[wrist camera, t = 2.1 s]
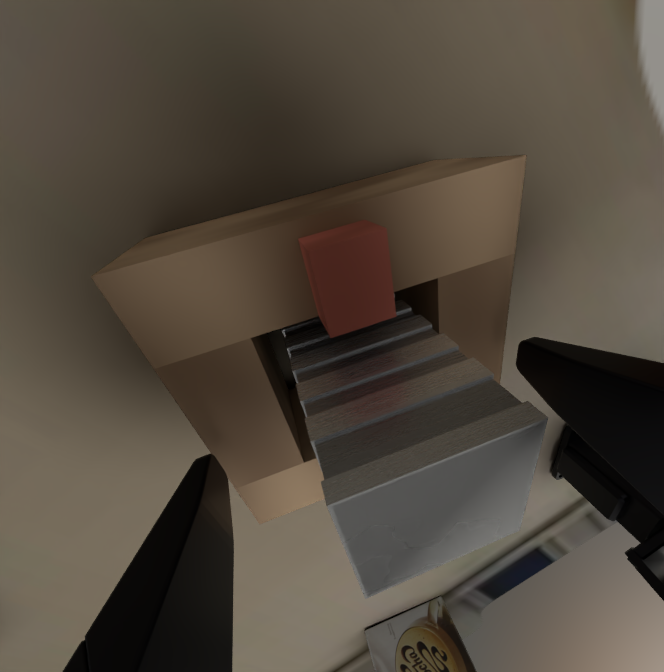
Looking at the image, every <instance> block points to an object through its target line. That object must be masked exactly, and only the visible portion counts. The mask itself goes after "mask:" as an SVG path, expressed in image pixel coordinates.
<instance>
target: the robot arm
mask: <svg viewBox="0 0 664 672" xmlns="http://www.w3.org/2000/svg"><path fill="white" fill-rule="evenodd" d="M516 366H517V369H518V370H519V372H520V373H521V374H522V375H523V376H524V378H525V379H526V380H527V381H528V382H529V383H530V384H531V386H532V387H533V388H534V389H535V390H536V391H537V392H538V394H539V395H540V396H541V397H542V398H543V399H544V400H545V401H546V403H547V404H548V405H549V406H550V407H551V408H552V409H553V410H554V411H555V412H556V413H557V414H558V415H559V416H560V417H561V418H562V419H563V420H564V421H565V422H566V423H567V424H568V426H567V427H566V429H565V432H564V435H563V438H562V442H561V445H560V448H559V451H558V455H557V458H556V461H555V464H554V468H553V471H552V476H553V477H554V478H555V479H556V480H559V479H562V478H565V479H566V480H567V481H568V482H569V483H570V484H571V485H572V486H573V487H574V488H575V489H576V490H577V491H578V492H579V493H581V494H582V495H583V496H584V497H585V498H586V499H587V500H588V501H589V502H590V503H591V504H592V505H593V506H594V507H595V508H596V509H597V510H598V511H599V512H600V513H602V514H603V515H604V516H605V517H606V518H607V519H609V520H611V521H615V520H617V521H618V522H619V523H620V524H621V525H622V526H623V527H624V528H625V529H626V530H627V531H628V532H629V533H630V534H632V535H633V536H634V537H635V538H636V539H637V540H638V541H639V542H640V543H641V544H639V545H638V546H637V547H635V548H630V549H629V550H627V551H626V552H625V554H626V555H627V556H628V560H629V561H630V562H631V563H632V564H633V565H634V566H635V568H636V569H637V571H638V572H639V573H640V574H641V575H642V576H643V577H644V579H645V580H646V581H647V582H648V583H649V584H650V586H651V587H652V588H653V589H654V590H655V591H656V593H657V594H658V595H659V596H660V597H661V598H662V599H663V600H664V363H661V362H656V361H651V360H646V359H641V358H636V357H631V356H626V355H621V354H616V353H612V352H607V351H602V350H597V349H592V348H587V347H582V346H577V345H572V344H567V343H562V342H558V341H553V340H548V339H543V338H538V337H532V338H529V339H526V340H524V341H521V342H520V344H519V346H518V353H517V360H516ZM233 567H234V540H233V527H232V517H231V506H230V496H229V485H228V478H227V474H226V472H225V470H224V469H223V467H222V466H221V464H220V463H219V461H218V460H217V459H216V457H215V456H214V455H213V454H208V455H205V456H203V457H200V458H197V459H196V460H195V461H194V462H193V464H192V465H191V467H190V469H189V470H188V472H187V473H186V475H185V477H184V478H183V480H182V481H181V483H180V485H179V486H178V488H177V489H176V491H175V493H174V494H173V496H172V497H171V499H170V501H169V502H168V504H167V505H166V507H165V509H164V510H163V512H162V513H161V515H160V517H159V518H158V520H157V521H156V523H155V525H154V526H153V528H152V529H151V531H150V533H149V534H148V536H147V537H146V539H145V541H144V542H143V544H142V545H141V547H140V549H139V550H138V552H137V553H136V555H135V557H134V558H133V560H132V561H131V563H130V565H129V566H128V568H127V569H126V571H125V573H124V574H123V576H122V577H121V579H120V581H119V582H118V584H117V586H116V587H115V589H114V590H113V592H112V594H111V595H110V597H109V598H108V600H107V602H106V603H105V605H104V606H103V608H102V610H101V611H100V613H99V614H98V616H97V618H96V619H95V621H94V622H93V624H92V626H91V627H90V629H89V630H88V632H87V634H86V635H85V640H84V641H82V642H81V643H80V645H79V646H78V648H77V649H76V651H75V653H74V654H73V656H72V657H71V659H70V661H69V662H68V664H67V665H66V667H65V669H64V670H63V672H232V646H233Z"/></svg>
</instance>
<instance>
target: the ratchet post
mask: <svg viewBox="0 0 664 672" xmlns="http://www.w3.org/2000/svg"><path fill="white" fill-rule="evenodd" d="M394 300H395V309H396V317H394V318H391V319H388V320H385V321H382V322H379V323H376V324H373V325H370V326H367V327H364V328H361V329H358V330H355V331H352V332H349V333H346V334H343V335H340V336H337V337H334V338H330V336H329V334H328V333H327V331H326V329H325V327H324V325H323V323H322V321H321V319H320V318H319V316H318V317H315V318H312V319H308V320H305V321H302V322H299V323H296V324H293V325H290V326H287V327H284V328H281V329H282V332H283V335H284V337H285V338H284V340H285V344H286V348H287V351H288V354H289V357H290V358H289V360H290V364H291V368H292V372H293V374H294V377H295V380H296V383H297V384H296V387H297V391H298V395H299V399H300V402H301V405H302V408H303V410H304V413H305V416H306V418H304V419H305V422H306V426H307V430H308V434H309V438H310V442H311V445H312V447H313V450H314V452H315V455H316V457H317V460H318V463H319V465H320V468H321V470H322V473H323V476H324V480H323V481H321V485H322V489H323V493H324V497H325V501H326V505H327V508H328V510H329V512H330V515H331V517H332V520H333V522H334V524H335V527H336V529H337V532H338V534H339V536H340V539H341V541H342V544H343V546H344V548H345V551H346V553H347V556H348V558H349V560H350V563H351V565H352V568H353V570H354V573H355V575H356V577H357V580H358V582H359V585H360V587H361V589H362V592H363V594H364V597H365V599H366V598H369V597H371V596H373V595H375V594H378V593H380V592H382V591H384V590H387V589H389V588H391V587H393V586H396V585H398V584H400V583H402V582H405V581H407V580H409V579H411V578H414V577H416V576H418V575H420V574H423V573H425V572H427V571H429V570H432V569H434V568H436V567H438V566H441V565H443V564H445V563H447V562H450V561H452V560H454V559H456V558H459V557H461V556H463V555H465V554H468V553H470V552H472V551H474V550H477V549H479V548H481V547H483V546H486V545H488V544H490V543H492V542H495V541H497V540H499V539H501V538H504V537H506V536H508V535H510V534H513V533H515V532H517V531H519V530H520V527H521V523H522V519H523V515H524V511H525V507H526V503H527V499H528V495H529V491H530V487H531V483H532V479H533V475H534V471H535V468H536V464H537V460H538V456H539V452H540V448H541V444H542V440H543V436H544V432H545V428H546V424H547V420H548V417H547V416H546V415H544V414H543V413H542V412H541V411H539V410H538V409H537V408H536V407H534V406H533V405H532V404H531V403H529V402H528V401H527V402H524V403H521V402H520V401H519V400H518V399H517V398H515V397H514V396H513V395H512V394H511V393H509V392H508V391H507V390H506V389H505V388H503V387H502V386H501V385H500V384H499V383H497V382H496V381H495V380H494V379H493V378H494V374H493V373H492V372H491V371H490V370H489V369H487V368H486V367H485V366H484V365H482V364H481V363H480V362H479V361H477V360H476V359H475V358H474V357H473V358H470V359H468V358H467V357H466V356H465V355H464V354H462V353H461V352H460V351H459V345H457V344H456V343H455V342H454V341H453V340H451V339H450V338H449V337H448V336H446V335H445V334H444V333H442V334H438V333H437V332H436V331H435V330H433V329H432V324H431V323H430V322H429V321H428V320H426V319H425V318H424V317H423V316H421V315H417V316H416V315H415V314H414V313H413V312H412V310H411V307H410V306H409V305H408V304H407V303H405V302H404V301H403V300H399V301H398V300H397V299H396V298H395V294H394Z"/></svg>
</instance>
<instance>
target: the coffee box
mask: <svg viewBox="0 0 664 672" xmlns="http://www.w3.org/2000/svg"><path fill="white" fill-rule="evenodd" d="M365 635H366V639H367V643H368V647H369V650H370V654H371V658H372V661H373V665H374V669H375V672H477V671H476V669H475V667H474V664H473V662H472V660H471V658H470V656H469V654H468V652H467V650H466V648H465V646H464V644H463V641H462V639H461V637H460V635H459V633H458V631H457V629H456V627H455V625H454V623H453V621H452V618H451V616H450V614H449V612H448V610H447V608H446V605H445V603H444V601H443V598H442V597H441V596H440V597H438V598H435V599H433V600H431V601H429V602H427V603H425V604H422V605H420V606H418V607H416V608H414V609H411V610H409V611H407V612H405V613H403V614H400V615H398V616H396V617H394V618H392V619H389V620H387V621H385V622H383V623H380V624H378V625H376V626H374V627H372V628H369V629H367V630H366V631H365Z"/></svg>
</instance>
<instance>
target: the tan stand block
mask: <svg viewBox="0 0 664 672" xmlns="http://www.w3.org/2000/svg"><path fill="white" fill-rule="evenodd" d="M526 157H527V155H518V156H499V157H480V158H461V159H442V160H432V161H428V162H425V163H421V164H417V165H414V166H410V167H406V168H403V169H399V170H395V171H391V172H388V173H384V174H380V175H377V176H373V177H369V178H365V179H362V180H358V181H354V182H351V183H347V184H343V185H340V186H336V187H332V188H328V189H325V190H321V191H317V192H314V193H310V194H306V195H303V196H299V197H295V198H291V199H288V200H284V201H280V202H277V203H273V204H269V205H265V206H262V207H258V208H254V209H251V210H247V211H243V212H240V213H236V214H232V215H228V216H225V217H221V218H217V219H214V220H210V221H206V222H203V223H199V224H195V225H191V226H188V227H184V228H180V229H177V230H173V231H169V232H165V233H162V234H158V235H154V236H151V237H147V238H144V239H143V240H142V241H140V242H139V243H137V244H136V245H135V246H133V247H132V248H130V249H129V250H128V251H126V252H125V253H123V254H122V255H120V256H119V257H118V258H116V259H115V260H113V261H112V262H111V263H109V264H108V265H106V266H105V267H104V268H102V269H101V270H99V271H98V272H96V273H95V274H94V275H92V276H91V278H92V279H93V281H94V282H95V284H96V285H97V287H98V288H99V290H100V291H101V293H102V294H103V296H104V297H105V298H106V300H107V301H108V303H109V304H110V306H111V307H112V309H113V310H114V312H115V313H116V315H117V316H118V318H119V319H120V320H121V322H122V323H123V325H124V326H125V328H126V329H127V331H128V332H129V334H130V335H131V337H132V338H133V339H134V341H135V342H136V344H137V345H138V347H139V348H140V350H141V351H142V353H143V354H144V356H145V357H146V358H147V360H148V361H149V363H150V364H151V366H152V367H153V369H154V370H155V372H156V373H157V375H158V376H159V378H160V379H161V380H162V382H163V383H164V385H165V386H166V388H167V389H168V391H169V392H170V394H171V395H172V397H173V398H174V399H175V401H176V402H177V404H178V405H179V407H180V408H181V410H182V411H183V413H184V414H185V416H186V417H187V418H188V420H189V421H190V423H191V424H192V426H193V427H194V429H195V430H196V432H197V433H198V435H199V436H200V438H201V439H202V440H203V442H204V443H205V445H206V446H207V448H208V449H209V451H210V452H211V454H213V455H214V456H215V457H216V459H217V460H218V461H219V463H220V464H221V466H222V467H223V469H224V470H225V472H226V474H227V477H228V478H229V480H230V481H231V483H232V484H233V486H234V487H235V489H236V490H237V492H238V493H239V495H240V496H241V498H242V499H243V500H244V502H245V503H246V505H247V506H248V508H249V509H250V511H251V512H252V514H253V515H254V517H255V518H256V519H257V521H258V522H259V524H262V523H264V522H267V521H269V520H272V519H274V518H277V517H279V516H282V515H284V514H287V513H289V512H292V511H295V510H297V509H300V508H302V507H305V506H307V505H310V504H312V503H315V502H317V501H320V500H322V499H325V497H324V493H323V489H322V485H321V481H323V480H324V476H323V473H322V470H321V468H320V465H319V463H318V460H317V457H316V455H315V452H314V450H313V447H312V445H311V442H310V438H309V434H308V430H307V426H306V422H305V419H304V418H306V416H305V413H304V410H303V408H302V405H301V402H300V399H299V395H298V391H297V387H295V388H293V389H290V390H288V387H287V385H286V382H285V380H284V377H283V375H282V372H281V370H280V367H279V364H278V362H277V359H276V357H275V354H274V352H273V349H272V347H271V344H270V341H269V339H268V336H267V334H266V333H268V332H271V331H274V330H277V329H280V328H284V327H287V326H290V325H293V324H296V323H299V322H302V321H305V320H308V319H312V318H315V317H318V316H319V318H320V319H321V321H322V323H323V325H324V327H325V329H326V331H327V333H328V334H329V336H330V338H334V337H337V336H340V335H343V334H346V333H349V332H352V331H355V330H358V329H361V328H364V327H367V326H370V325H373V324H376V323H379V322H382V321H385V320H388V319H391V318H394V317H396V309H395V300H394V294H395V298H396V299H397V300H398V301H399V300H403V301H404V302H405V303H407V304H408V305H409V306H410V307H411V310H412V312H413V313H414V314H415V315H416V316H417V315H421V316H423V317H424V318H425V319H426V320H428V321H429V322H430V323H431V324H432V329H433V330H435V331H436V332H437V333H438V334H442V333H444V334H445V335H446V336H448V337H449V338H450V339H451V340H453V341H454V342H455V343H456V344H457V345H459V351H460V352H461V353H462V354H464V355H465V356H466V357H467V358H468V359H470V358H473V357H474V358H475V359H476V360H477V361H479V362H480V363H481V364H482V365H484V366H485V367H486V368H487V369H489V370H490V371H491V372H492V373H493V374H494V378H493V379H494V380H495V381H496V382H497V383H499V384H500V378H501V369H502V361H503V352H504V344H505V336H506V327H507V319H508V310H509V302H510V293H511V285H512V276H513V268H514V259H515V251H516V242H517V234H518V225H519V217H520V208H521V200H522V191H523V183H524V174H525V166H526Z"/></svg>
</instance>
